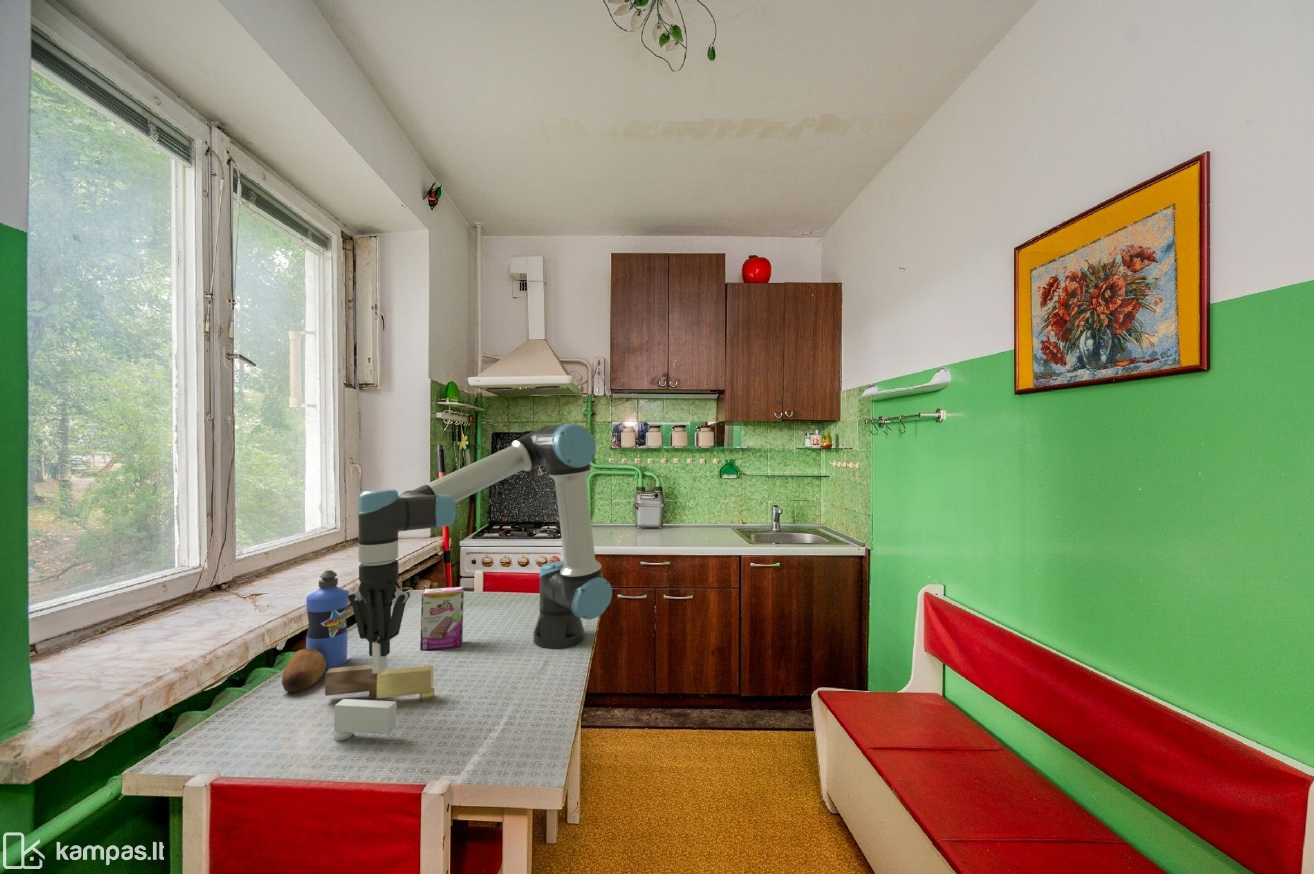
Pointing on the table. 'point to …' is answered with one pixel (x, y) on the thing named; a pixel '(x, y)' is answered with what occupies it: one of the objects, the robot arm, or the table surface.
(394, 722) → the light grey boxy piece
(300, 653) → the potato
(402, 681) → the lever
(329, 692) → the lever
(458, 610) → the candy bar box
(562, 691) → the table surface
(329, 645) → the water bottle
